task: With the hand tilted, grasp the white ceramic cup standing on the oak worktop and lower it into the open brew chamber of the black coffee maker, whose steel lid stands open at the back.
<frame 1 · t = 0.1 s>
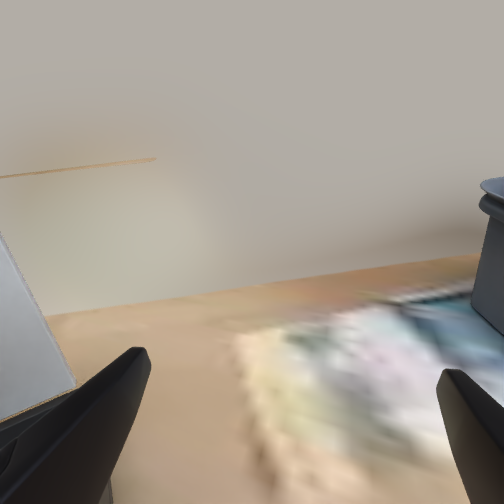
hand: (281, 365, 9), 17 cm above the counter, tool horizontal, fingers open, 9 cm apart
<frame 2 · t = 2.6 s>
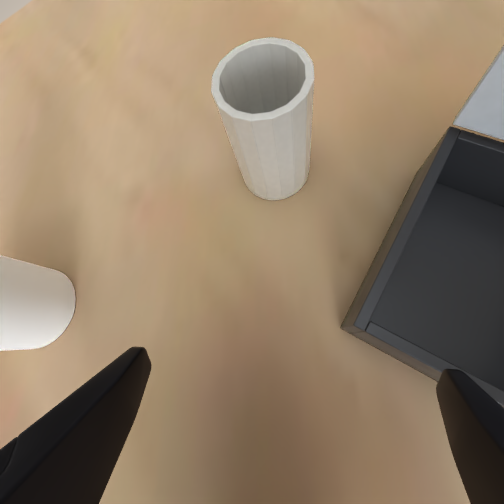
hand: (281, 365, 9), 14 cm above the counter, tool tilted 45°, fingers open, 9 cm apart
white cup: (275, 170, 26), on the counter
cylindrical container: (41, 307, 26), on the counter
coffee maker: (462, 283, 21), on the counter
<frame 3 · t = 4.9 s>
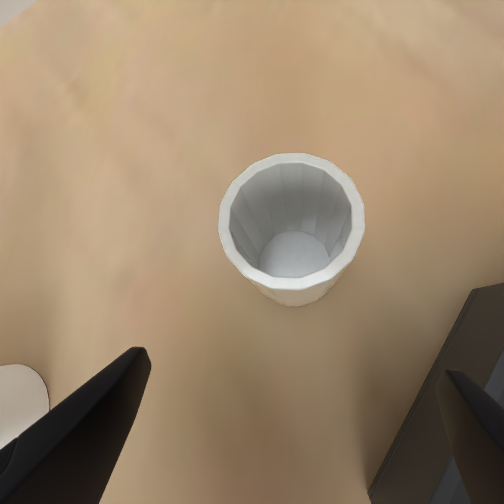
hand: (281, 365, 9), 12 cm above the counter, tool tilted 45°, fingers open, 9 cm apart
white cup: (293, 265, 22), on the counter
cylindrical container: (10, 412, 22), on the counter
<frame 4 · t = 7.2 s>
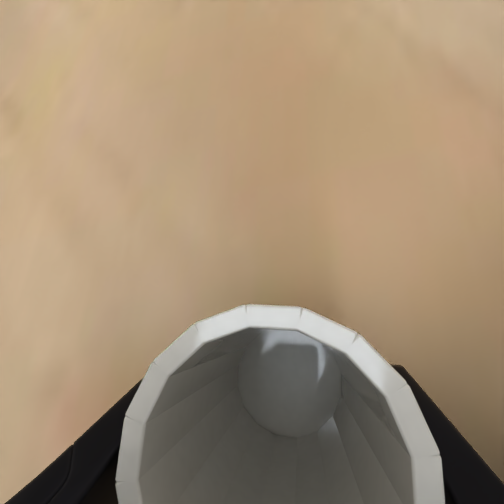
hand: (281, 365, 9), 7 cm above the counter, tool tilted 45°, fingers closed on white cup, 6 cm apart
white cup: (288, 377, 15), on the counter, touching gripper
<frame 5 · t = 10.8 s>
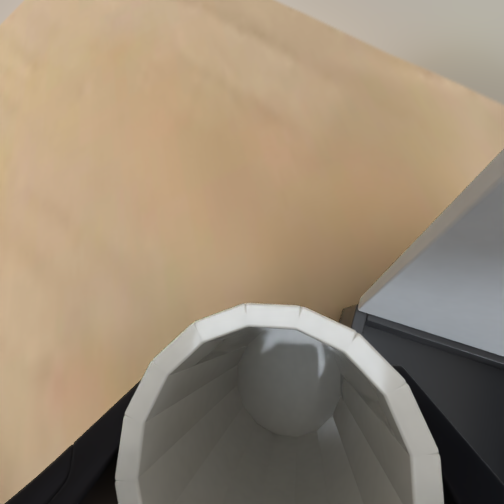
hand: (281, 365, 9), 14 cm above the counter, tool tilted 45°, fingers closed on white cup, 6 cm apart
white cup: (288, 376, 15), point 7 cm above the counter, touching gripper
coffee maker: (408, 443, 19), on the counter
when the fingers open (7 cm above the counter, at t = 14.7 s): white cup stays where it is, resting on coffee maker.
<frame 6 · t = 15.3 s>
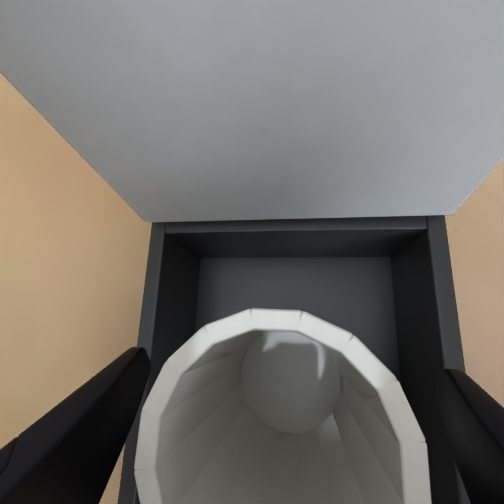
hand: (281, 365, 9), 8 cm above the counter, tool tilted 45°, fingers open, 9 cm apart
white cup: (289, 376, 16), point 1 cm above the counter, touching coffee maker
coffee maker: (290, 374, 16), on the counter
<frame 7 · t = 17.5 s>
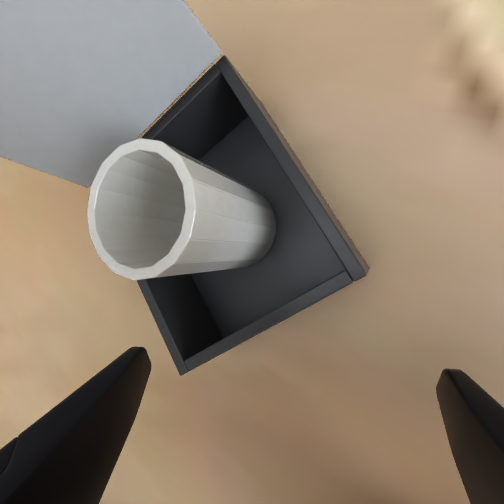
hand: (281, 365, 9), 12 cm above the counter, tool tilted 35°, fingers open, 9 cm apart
white cup: (238, 227, 22), point 1 cm above the counter, touching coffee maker
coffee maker: (242, 228, 22), on the counter
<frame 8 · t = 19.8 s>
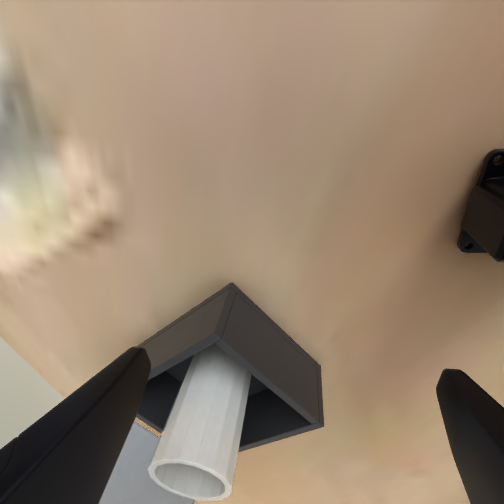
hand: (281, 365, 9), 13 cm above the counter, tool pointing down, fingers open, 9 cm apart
white cup: (223, 361, 29), point 1 cm above the counter, touching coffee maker
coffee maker: (224, 355, 29), on the counter
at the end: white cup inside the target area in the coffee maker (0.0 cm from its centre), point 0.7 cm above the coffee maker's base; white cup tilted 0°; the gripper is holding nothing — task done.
